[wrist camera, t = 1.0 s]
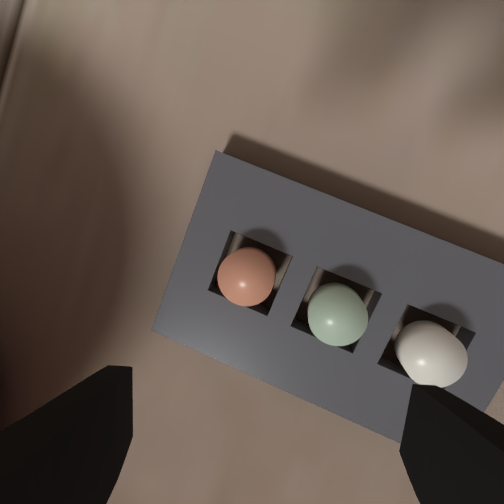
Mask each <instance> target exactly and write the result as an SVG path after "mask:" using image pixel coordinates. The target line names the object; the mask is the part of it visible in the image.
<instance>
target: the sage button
mask: <svg viewBox="0 0 504 504" xmlns="http://www.w3.org/2000/svg"><path fill="white" fill-rule="evenodd" d="M307 309H308V322H309V326H310V329H311V331H312V332H313V334H314V335H315V336H316V337H317V338H318V339H319V340H320V341H322V342H324V343H326V344H328V345H332V346H345V345H349V344H351V343H353V342H355V341H357V340H358V339H359V338H360V337H361V336H362V335H363V334H364V332H365V330H366V328H367V324H368V312H367V309H366V307H365V305H364V303H363V302H362V300H361V298H360V297H359V295H358V294H357V293H356V292H355V290H353V289H352V288H351V287H349V286H347V285H345V284H342V283H327V284H324V285H322V286H320V287H319V288H317V289H316V290H315V291H314V292H313V293H312V295H311V296H310V298H309V301H308V307H307Z"/></svg>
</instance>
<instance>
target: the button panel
mask: <svg viewBox="0 0 504 504" xmlns="http://www.w3.org/2000/svg"><path fill="white" fill-rule="evenodd" d="M234 232H236V233H238V234H241V235H243V236H245V237H248V238H250V239H253V240H255V241H257V242H260V243H262V244H265V245H267V246H269V247H272V248H274V249H277V250H279V251H282V252H284V253H286V254H289V255H291V256H292V258H291V260H290V262H289V265H288V267H287V269H286V272H285V274H284V276H283V279H282V281H281V283H280V286H279V288H278V290H277V293H276V295H275V298H274V300H273V302H272V305H271V307H270V309H269V308H267V307H264V306H262V305H260V304H257V305H253V306H240V305H237V304H234V303H232V302H231V301H229V300H228V299H227V298H226V297H225V296H224V295H223V293H222V292H221V290H220V288H219V287H218V286H216V285H214V283H215V280H216V278H217V275H218V270H219V267H220V265H221V263H222V262H223V260H224V257H225V255H226V252H227V249H228V247H229V244H230V242H231V239H232V237H233V234H234ZM317 266H318V267H320V268H322V269H325V270H327V271H330V272H332V273H334V274H337V275H339V276H342V277H344V278H346V279H349V280H351V281H354V282H356V283H358V284H361V285H363V286H366V287H368V288H370V289H373V290H375V292H374V294H373V296H372V298H371V300H370V302H369V304H368V306H367V308H366V309H367V312H368V324H367V328H366V330H365V332H364V334H363V335H362V336H361V337H360V338H359V339H358V340H357V341H355V342H353V343H351V344H349V345H345V346H332V345H328V344H326V343H324V342H322V341H320V340H319V339H318V338H317V337H316V336H315V335H314V334H313V332H312V331H311V329H310V326H308V325H306V324H304V323H301V322H299V321H297V320H294V317H295V315H296V312H297V310H298V308H299V306H300V303H301V301H302V299H303V297H304V294H305V292H306V290H307V288H308V285H309V283H310V281H311V279H312V276H313V274H314V272H315V270H316V267H317ZM407 304H409V305H411V306H414V307H416V308H418V309H421V310H423V311H426V312H428V313H430V314H433V315H435V316H438V317H440V318H442V319H445V320H447V321H450V322H452V323H454V324H457V325H459V326H462V327H461V329H460V330H459V332H458V334H457V336H456V338H457V339H458V340H459V341H460V342H461V343H462V344H463V346H464V347H465V349H466V352H467V356H468V363H467V367H466V370H465V372H464V374H463V375H462V376H461V378H460V379H459V380H457V381H456V382H455V383H453V384H451V385H449V386H446V387H442V389H444V390H446V391H448V392H450V393H452V394H453V395H455V396H457V397H459V398H460V399H462V400H464V401H465V402H467V403H469V404H470V405H472V406H474V407H475V408H477V409H479V410H480V411H482V412H485V410H486V408H487V407H488V405H489V403H490V402H491V400H492V398H493V397H494V395H495V393H496V392H497V390H498V388H499V387H500V385H501V383H502V382H503V380H504V264H502V263H500V262H497V261H495V260H492V259H489V258H487V257H484V256H482V255H479V254H477V253H474V252H472V251H469V250H467V249H464V248H462V247H459V246H457V245H454V244H452V243H449V242H447V241H444V240H441V239H439V238H436V237H434V236H431V235H429V234H426V233H424V232H421V231H419V230H416V229H414V228H411V227H409V226H406V225H404V224H401V223H399V222H396V221H393V220H391V219H388V218H386V217H383V216H381V215H378V214H376V213H373V212H371V211H368V210H366V209H363V208H361V207H358V206H356V205H353V204H351V203H348V202H345V201H343V200H340V199H338V198H335V197H333V196H330V195H328V194H325V193H323V192H320V191H318V190H315V189H313V188H310V187H308V186H305V185H302V184H300V183H297V182H295V181H292V180H290V179H287V178H285V177H282V176H280V175H277V174H275V173H272V172H270V171H267V170H265V169H262V168H260V167H257V166H254V165H252V164H249V163H247V162H244V161H242V160H239V159H237V158H234V157H232V156H229V155H227V154H224V153H222V152H219V151H217V150H216V151H215V154H214V157H213V159H212V162H211V165H210V168H209V170H208V173H207V176H206V179H205V182H204V184H203V187H202V190H201V193H200V196H199V198H198V201H197V204H196V207H195V210H194V212H193V215H192V218H191V221H190V223H189V226H188V229H187V232H186V235H185V237H184V240H183V243H182V246H181V249H180V251H179V254H178V257H177V260H176V262H175V265H174V268H173V271H172V274H171V276H170V279H169V282H168V285H167V288H166V290H165V293H164V296H163V299H162V302H161V304H160V307H159V310H158V313H157V315H156V318H155V321H154V324H153V327H152V329H151V330H152V331H154V332H156V333H159V334H161V335H163V336H165V337H167V338H170V339H172V340H174V341H176V342H178V343H181V344H183V345H185V346H187V347H189V348H192V349H194V350H196V351H198V352H200V353H203V354H205V355H207V356H209V357H211V358H214V359H216V360H218V361H220V362H222V363H225V364H227V365H229V366H231V367H233V368H236V369H238V370H240V371H242V372H244V373H247V374H249V375H251V376H253V377H255V378H258V379H260V380H262V381H264V382H266V383H269V384H271V385H273V386H275V387H277V388H280V389H282V390H284V391H286V392H288V393H291V394H293V395H295V396H297V397H299V398H302V399H304V400H306V401H308V402H310V403H313V404H315V405H317V406H319V407H321V408H324V409H326V410H328V411H330V412H332V413H335V414H337V415H339V416H341V417H343V418H346V419H348V420H350V421H352V422H354V423H357V424H359V425H361V426H363V427H365V428H368V429H370V430H372V431H374V432H376V433H379V434H381V435H383V436H385V437H387V438H390V439H392V440H394V441H396V442H398V443H401V440H402V435H403V430H404V425H405V420H406V415H407V410H408V404H409V399H410V394H411V389H412V384H418V383H416V382H415V381H414V380H412V379H411V378H410V376H409V375H408V374H407V372H406V371H405V369H404V367H403V366H400V365H398V364H396V363H394V362H391V361H389V360H387V359H384V358H382V357H381V355H382V353H383V351H384V349H385V347H386V345H387V343H388V341H389V340H390V338H391V336H392V334H393V332H394V330H395V328H396V326H397V324H398V322H399V320H400V318H401V316H402V314H403V312H404V310H405V308H406V306H407Z"/></svg>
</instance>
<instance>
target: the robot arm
mask: <svg viewBox="0 0 504 504" xmlns="http://www.w3.org/2000/svg"><path fill="white" fill-rule="evenodd" d="M132 437H133V398H132V367H127V366H110V365H108V366H106V367H104V368H103V369H101V370H99V371H97V372H96V373H94V374H93V375H91V376H89V377H88V378H86V379H85V380H83V381H81V382H80V383H78V384H77V385H75V386H74V387H72V388H71V389H69V390H67V391H66V392H64V393H63V394H61V395H59V396H58V397H56V398H55V399H53V400H51V401H50V402H48V403H47V404H45V405H44V406H42V407H40V408H39V409H37V410H36V411H34V412H32V413H31V414H29V415H27V416H26V417H24V418H22V419H20V420H19V421H17V422H15V423H14V424H12V425H10V426H8V427H7V428H5V429H3V430H1V431H0V504H106V503H107V501H108V499H109V497H110V495H111V493H112V490H113V488H114V486H115V484H116V482H117V480H118V477H119V474H120V472H121V469H122V466H123V463H124V460H125V458H126V455H127V452H128V449H129V446H130V443H131V440H132ZM399 452H400V455H401V457H402V460H403V463H404V465H405V468H406V471H407V474H408V476H409V479H410V481H411V484H412V486H413V489H414V491H415V493H416V496H417V498H418V500H419V502H420V504H504V425H503V424H501V423H500V422H498V421H497V420H495V419H493V418H492V417H490V416H488V415H487V414H485V413H484V412H482V411H480V410H479V409H477V408H475V407H474V406H472V405H470V404H469V403H467V402H465V401H464V400H462V399H460V398H459V397H457V396H455V395H453V394H452V393H450V392H448V391H446V390H444V389H442V388H440V387H438V386H436V385H422V384H412V389H411V394H410V399H409V404H408V410H407V415H406V420H405V425H404V430H403V435H402V440H401V445H400V451H399Z"/></svg>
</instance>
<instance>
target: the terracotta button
mask: <svg viewBox="0 0 504 504" xmlns="http://www.w3.org/2000/svg"><path fill="white" fill-rule="evenodd" d="M275 279H276V268H275V264H274V262H273V260H272V258H271V257H270V256H269V255H268V254H267V253H266V252H265V251H263V250H261V249H259V248H256V247H243V248H240V249H238V250H236V251H235V252H233V253H232V254H230V255H229V256H227V257H226V258H225V259H224V260H223V262H222V263H221V265H220V267H219V270H218V285H219V288H220V290H221V292H222V293H223V295H224V296H225V297H226V298H227V299H228V300H229V301H231V302H232V303H234V304H237V305H240V306H253V305H257V304H259V303H261V302H262V301H264V300H265V299H266V298H267V297H268V296H269V294H270V292H271V290H272V288H273V285H274V282H275Z"/></svg>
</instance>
